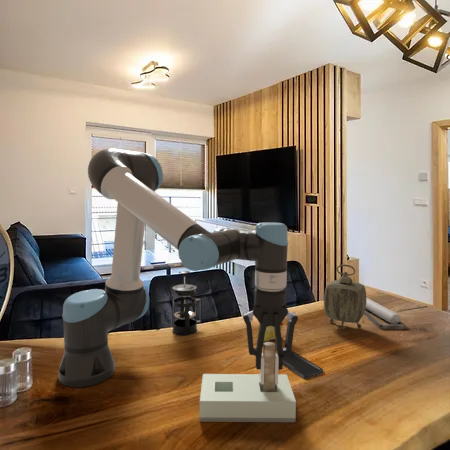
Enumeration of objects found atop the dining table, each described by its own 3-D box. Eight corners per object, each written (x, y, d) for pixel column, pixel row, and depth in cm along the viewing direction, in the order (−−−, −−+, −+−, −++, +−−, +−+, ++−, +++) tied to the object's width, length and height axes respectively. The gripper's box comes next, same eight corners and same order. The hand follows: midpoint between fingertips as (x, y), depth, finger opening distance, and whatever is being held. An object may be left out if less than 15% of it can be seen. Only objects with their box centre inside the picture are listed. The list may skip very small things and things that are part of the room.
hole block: (199, 421, 81) (199, 400, 81) (203, 392, 93) (203, 373, 93) (295, 422, 81) (295, 401, 81) (286, 392, 93) (286, 374, 93)
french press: (172, 337, 128) (172, 275, 125) (168, 327, 136) (168, 269, 134) (204, 333, 131) (204, 272, 129) (198, 324, 140) (198, 267, 138)
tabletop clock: (365, 328, 138) (368, 265, 135) (360, 335, 130) (363, 269, 128) (328, 320, 145) (330, 260, 143) (321, 327, 138) (323, 264, 135)
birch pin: (263, 403, 85) (264, 347, 84) (261, 395, 88) (262, 341, 87) (275, 403, 85) (276, 347, 84) (273, 395, 88) (274, 342, 87)
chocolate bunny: (287, 339, 127) (288, 298, 125) (261, 344, 123) (261, 302, 121) (277, 332, 133) (278, 293, 132) (251, 336, 129) (252, 296, 127)
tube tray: (380, 329, 137) (380, 325, 137) (352, 304, 167) (352, 301, 166) (406, 329, 137) (406, 325, 137) (373, 304, 167) (373, 301, 166)
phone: (291, 350, 116) (325, 370, 103) (291, 353, 116) (325, 374, 103) (272, 355, 112) (304, 377, 99) (272, 359, 113) (304, 380, 100)
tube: (405, 315, 140) (368, 296, 164) (394, 312, 139) (359, 294, 163) (401, 328, 140) (365, 307, 164) (390, 325, 139) (355, 305, 163)
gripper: (238, 291, 80) (237, 389, 83) (307, 292, 80) (304, 390, 83) (237, 283, 88) (236, 373, 90) (300, 283, 88) (297, 373, 90)
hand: (268, 381), depth 86 cm, fingers closed on birch pin, 3 cm apart
